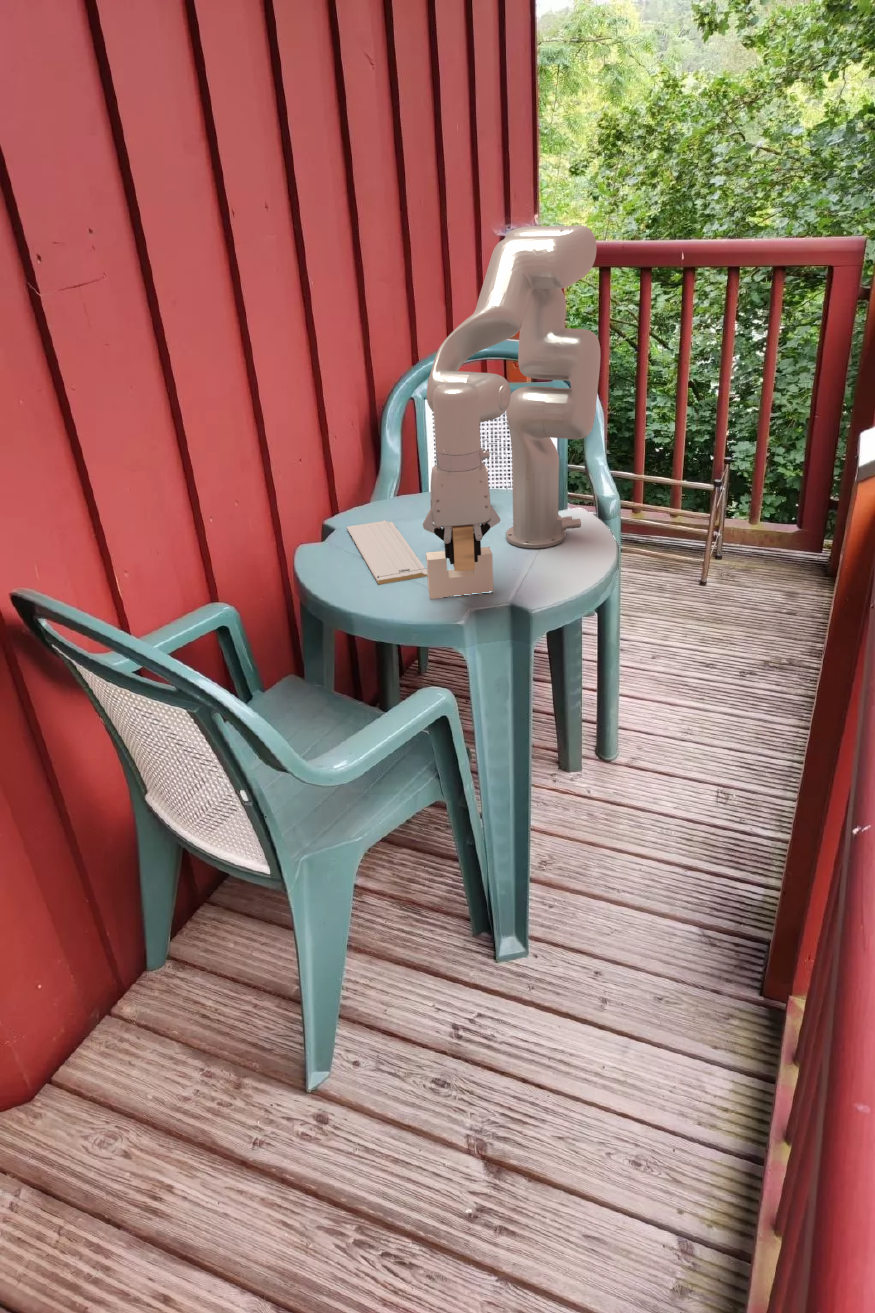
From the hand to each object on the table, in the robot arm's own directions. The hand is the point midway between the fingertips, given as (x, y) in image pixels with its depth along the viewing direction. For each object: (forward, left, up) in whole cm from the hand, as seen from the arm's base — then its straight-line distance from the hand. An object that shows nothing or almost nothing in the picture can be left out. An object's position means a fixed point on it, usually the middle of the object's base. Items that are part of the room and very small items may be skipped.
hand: (463, 559), depth 160 cm
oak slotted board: (0, -7, -1) cm, 7 cm away
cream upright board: (0, -7, -10) cm, 12 cm away
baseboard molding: (+12, -30, -11) cm, 34 cm away
